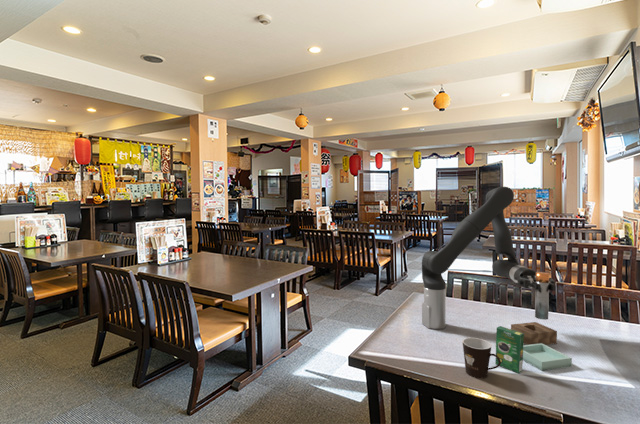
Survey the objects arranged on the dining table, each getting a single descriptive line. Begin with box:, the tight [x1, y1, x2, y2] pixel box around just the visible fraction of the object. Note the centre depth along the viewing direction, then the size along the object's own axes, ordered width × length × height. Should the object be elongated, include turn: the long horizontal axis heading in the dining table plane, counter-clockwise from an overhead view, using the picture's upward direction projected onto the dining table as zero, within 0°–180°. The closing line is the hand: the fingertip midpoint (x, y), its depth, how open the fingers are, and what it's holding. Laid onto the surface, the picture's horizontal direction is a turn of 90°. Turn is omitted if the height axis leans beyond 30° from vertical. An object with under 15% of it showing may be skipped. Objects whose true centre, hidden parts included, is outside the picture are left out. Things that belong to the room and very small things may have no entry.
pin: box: [534, 271, 550, 321], centre depth 121 cm, size 4×4×16 cm
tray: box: [523, 343, 573, 372], centre depth 119 cm, size 12×12×3 cm
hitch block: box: [510, 321, 558, 346], centre depth 136 cm, size 12×10×5 cm
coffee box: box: [495, 325, 524, 374], centre depth 114 cm, size 8×3×13 cm, turn 35°
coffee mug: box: [462, 337, 501, 379], centre depth 109 cm, size 12×9×10 cm
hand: (546, 287), depth 118 cm, fingers closed on pin, 4 cm apart
